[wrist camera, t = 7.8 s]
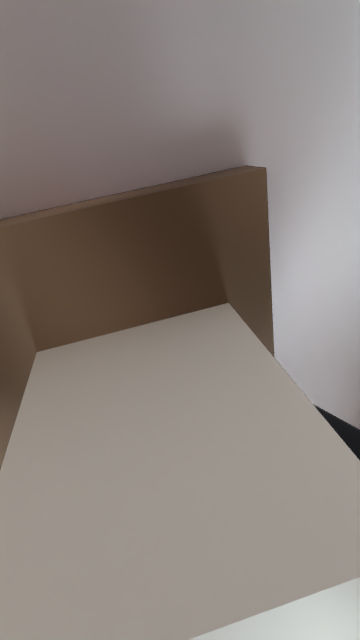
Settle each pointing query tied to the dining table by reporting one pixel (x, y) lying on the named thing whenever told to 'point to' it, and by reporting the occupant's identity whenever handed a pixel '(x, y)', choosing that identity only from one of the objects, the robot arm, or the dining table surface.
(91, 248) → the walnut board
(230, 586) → the white rectangular block
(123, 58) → the dining table surface
